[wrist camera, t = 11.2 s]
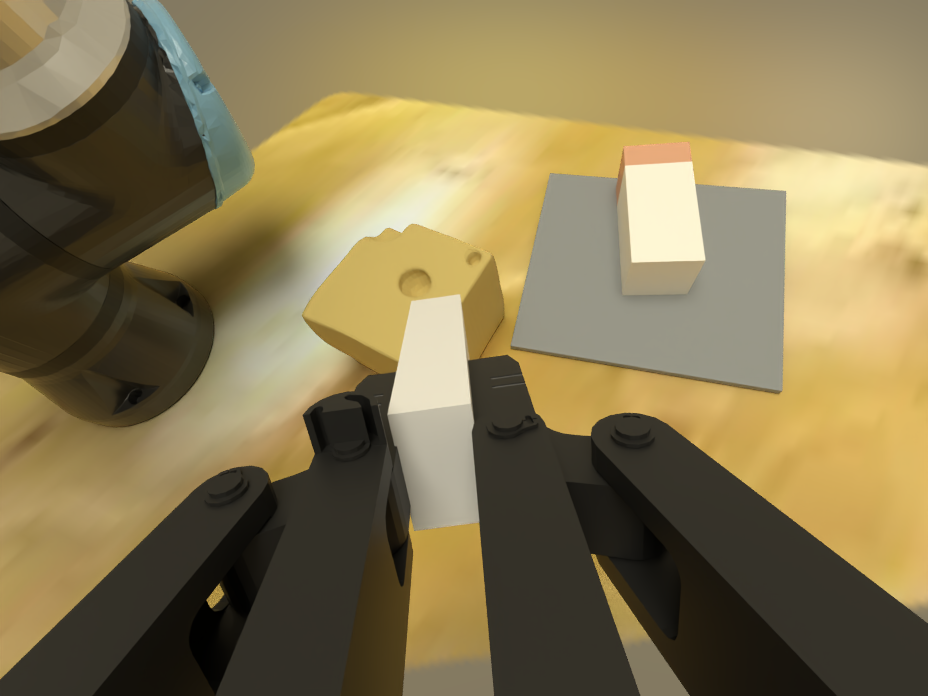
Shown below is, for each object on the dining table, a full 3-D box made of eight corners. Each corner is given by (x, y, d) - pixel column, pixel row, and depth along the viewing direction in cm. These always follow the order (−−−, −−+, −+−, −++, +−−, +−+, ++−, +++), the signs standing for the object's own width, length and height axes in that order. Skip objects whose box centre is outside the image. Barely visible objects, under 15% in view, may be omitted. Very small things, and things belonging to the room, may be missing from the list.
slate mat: (511, 348, 40) (510, 345, 39) (550, 177, 46) (550, 173, 45) (778, 393, 35) (782, 391, 34) (782, 195, 41) (786, 191, 40)
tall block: (631, 262, 35) (623, 146, 39) (622, 295, 39) (615, 188, 43) (705, 260, 34) (689, 141, 38) (687, 294, 38) (674, 185, 42)
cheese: (411, 271, 44) (375, 200, 35) (514, 316, 41) (503, 250, 32) (350, 365, 42) (293, 315, 33) (453, 421, 38) (423, 383, 29)
